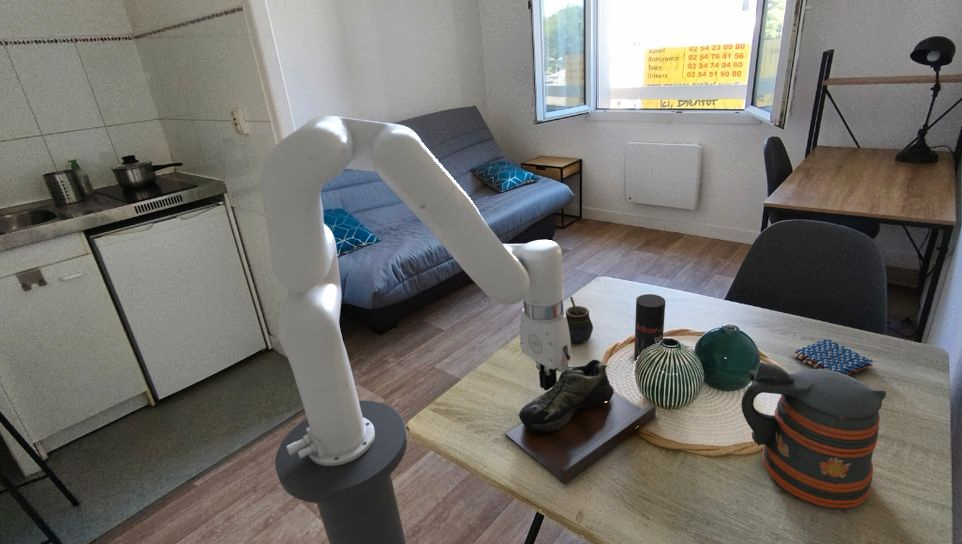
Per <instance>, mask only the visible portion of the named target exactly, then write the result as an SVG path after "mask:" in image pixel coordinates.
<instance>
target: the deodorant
mask: <svg viewBox="0 0 962 544" xmlns="http://www.w3.org/2000/svg"><path fill="white" fill-rule="evenodd" d="M665 314H666V299H665V298H664V297H662V296H661V295H659V294H652V293H646V294H640V295H639V296H637V297H636V299H635V319H634V321H635V322H634V323H635V324H634V347H633V348H634V351H633V352H634V353H633V360H634V362H636V360H637V357H638V356H639V355H640V354H641V352H642V351H643V350H644V349H646V348H647V347H649V346H651V345H653V344H656V343H659V342H660V341H661V340H663V341H664V330H665V329H664V328H665V327H664V326H665Z"/></svg>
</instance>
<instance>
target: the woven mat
mask: <svg viewBox="0 0 962 544" xmlns="http://www.w3.org/2000/svg"><path fill="white" fill-rule="evenodd" d="M794 353H795V355H793V358H794V359H796V358H798V359H800V360H802V363H803V364H808V365H811V366H813V369H824V370H831V371H835V372H839V373H842V374H845V375H848V376H850V375H851V374H855V373H857V372H860V371H862V370H864V369H866V368H868V367H872V366H873V362H874V360H872V359H869V358H868V357H867V356H866V355H862V354H860V353H859V351H857V352H855V351H853V349H850V348H848V347H846V346H845V345H842V344H839V342H835V341H833V340H831V339H830V338H827V339H823V340H821V341H817V342H815V343H812V344H810V345H807V346H804V347H802V348H798V349H796V350H795V351H794Z"/></svg>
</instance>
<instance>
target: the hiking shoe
mask: <svg viewBox="0 0 962 544" xmlns="http://www.w3.org/2000/svg"><path fill="white" fill-rule="evenodd" d="M568 367H569V370H568V371H566V372H565V373H562V372H560V375H559V377H558V378H557V382H556V384H555V385H554V386H553V387H552V388H550V389H549V390H547V391H546V392H544V393H543V394H541V395H539V396H538V397H535V398H534V399H533V400H531V401H530V402H528V403H526V404H525V405H524V406H523V407H522V408H521V409H520V410H519V413H518V418H519V420H520V422H521V424H522V423H523V424H524V426H525V427H526V428H527V429H528V430H531V431H533V432H536V433H538V434H547V433H551V432H554V431H558V430H560V429H562V428H564V426H565V425H566V424H567V423H568V422H569V420H570V419H571V417H572V415H573V414H574V413H575V412H576V411H578V410H581V409H589V408H595V407H598V406H601V405H603V404H605V403H604V402H605V401H609V400H610V399H611V398H612V396H613V394H614V393H615V390H614V387H613V386H612V385H611V383H610V380H609V377H608V375H607V370H606V369H607V367H608V365H605V364H604V363H603V362H602V361H600V360H599V359H596V358H595V359H591V360H590V361H589V362H588V363H587V364H584V365H573V366H572V365H571V366H570V365H568Z"/></svg>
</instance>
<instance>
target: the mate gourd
mask: <svg viewBox="0 0 962 544" xmlns="http://www.w3.org/2000/svg"><path fill="white" fill-rule="evenodd" d="M569 299H570V302H571V304H572V306H570V307H568V308H567V309H566V310H565V315H566V318H567V322H568V327H569V333H570V342H571V344H574V345H582V344H585V343H586V342H588V341H589V340H590V339H591V337H592V333H593V331H594V325H593V322H592V320H591V317H590V310H589V309H588V308H587V307H585V306H582V305H576V304H575V301H574V298H573V296H569Z"/></svg>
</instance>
